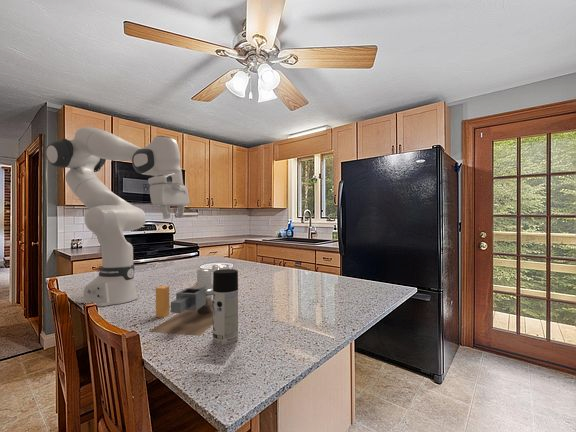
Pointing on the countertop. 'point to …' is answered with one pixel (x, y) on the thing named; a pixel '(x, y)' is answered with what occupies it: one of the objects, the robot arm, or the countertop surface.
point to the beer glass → (218, 268)
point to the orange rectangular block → (162, 301)
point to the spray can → (225, 306)
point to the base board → (186, 323)
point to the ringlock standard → (195, 295)
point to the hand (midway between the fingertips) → (174, 218)
